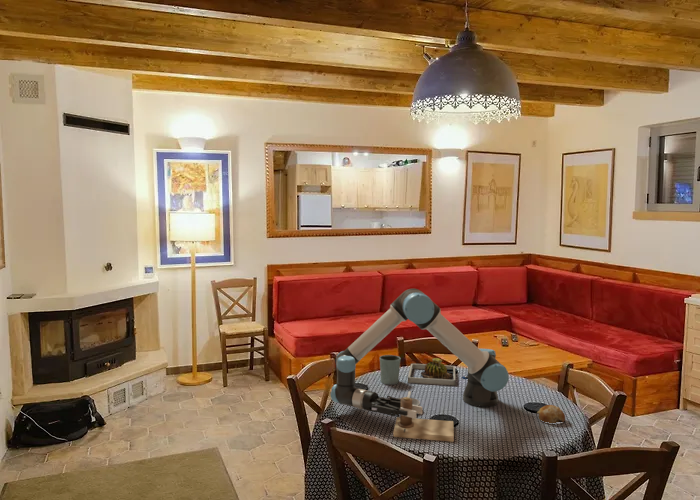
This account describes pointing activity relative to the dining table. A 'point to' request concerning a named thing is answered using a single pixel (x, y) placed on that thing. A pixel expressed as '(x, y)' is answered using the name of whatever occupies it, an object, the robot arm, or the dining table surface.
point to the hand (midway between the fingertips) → (418, 412)
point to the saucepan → (414, 401)
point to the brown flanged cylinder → (404, 420)
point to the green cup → (389, 369)
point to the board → (426, 430)
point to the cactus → (436, 370)
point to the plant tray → (429, 380)
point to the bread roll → (551, 414)
